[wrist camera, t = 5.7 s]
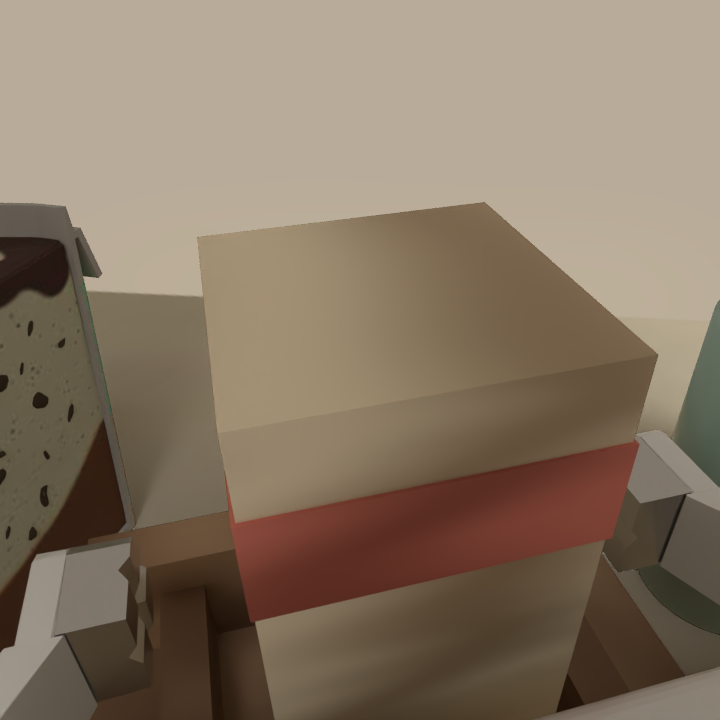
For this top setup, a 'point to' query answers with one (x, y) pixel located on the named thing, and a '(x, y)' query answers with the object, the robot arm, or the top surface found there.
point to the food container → (50, 403)
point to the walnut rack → (242, 649)
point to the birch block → (416, 459)
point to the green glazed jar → (713, 456)
